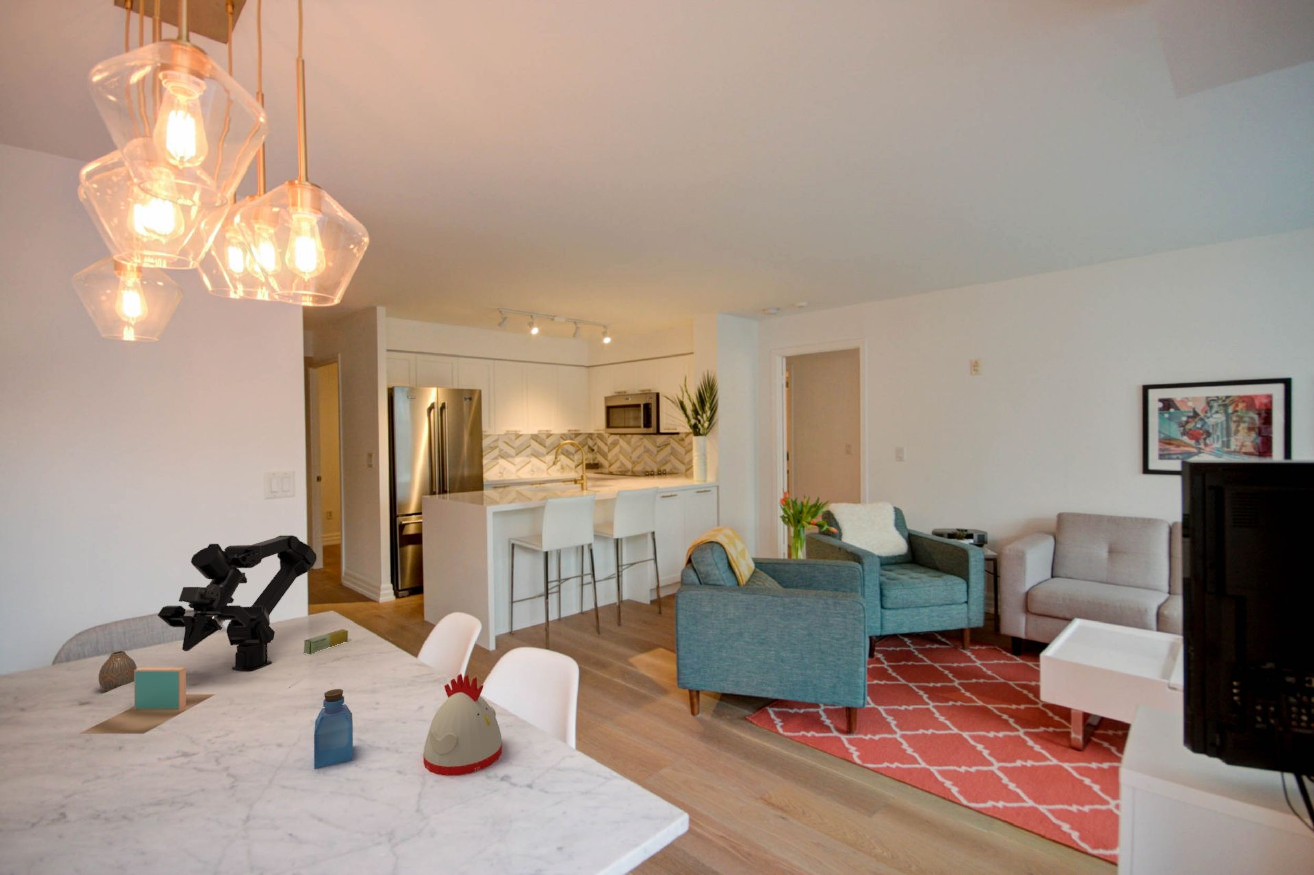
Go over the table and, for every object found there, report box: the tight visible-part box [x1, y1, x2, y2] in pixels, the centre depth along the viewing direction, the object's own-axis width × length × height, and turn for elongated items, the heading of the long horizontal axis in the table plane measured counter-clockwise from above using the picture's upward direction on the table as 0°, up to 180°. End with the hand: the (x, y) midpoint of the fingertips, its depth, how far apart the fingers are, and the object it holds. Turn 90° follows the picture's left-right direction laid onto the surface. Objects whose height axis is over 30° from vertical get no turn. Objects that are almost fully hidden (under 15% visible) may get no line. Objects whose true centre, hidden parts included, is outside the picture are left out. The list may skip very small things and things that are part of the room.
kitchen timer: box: [422, 673, 503, 777], centre depth 114 cm, size 14×14×15 cm
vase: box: [98, 650, 138, 693], centre depth 146 cm, size 7×7×9 cm
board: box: [80, 693, 216, 735], centre depth 130 cm, size 19×13×2 cm
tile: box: [133, 666, 187, 710], centre depth 132 cm, size 2×10×8 cm, turn 89°
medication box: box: [303, 628, 349, 655], centre depth 175 cm, size 12×3×4 cm, turn 153°
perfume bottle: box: [313, 688, 354, 770], centre depth 113 cm, size 6×6×12 cm
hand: (184, 650), depth 138 cm, fingers closed
